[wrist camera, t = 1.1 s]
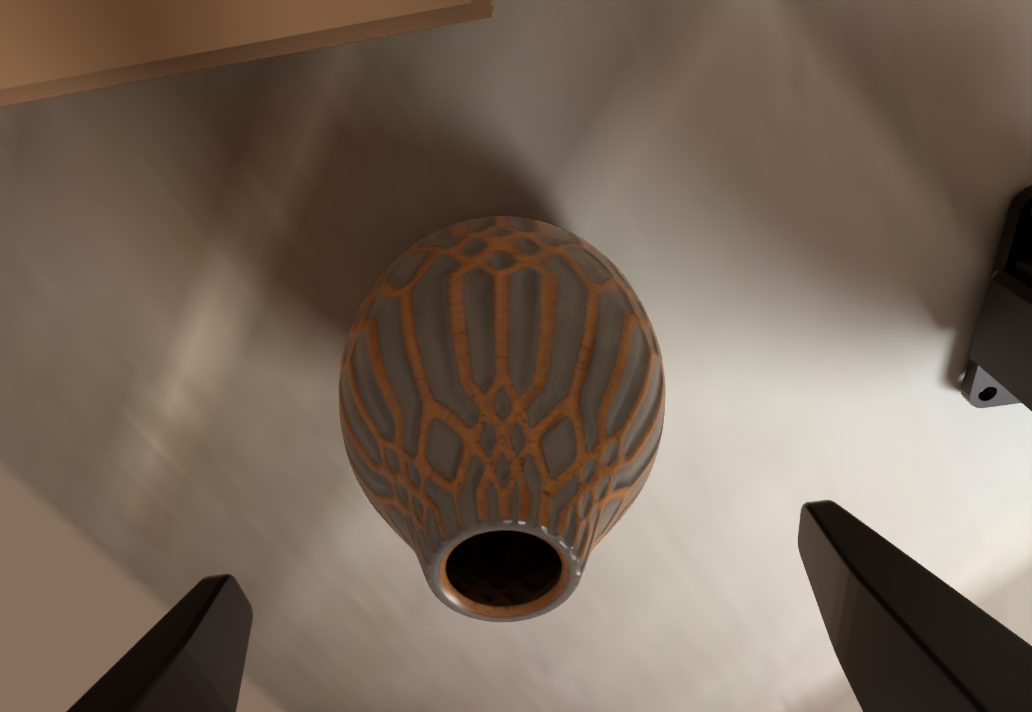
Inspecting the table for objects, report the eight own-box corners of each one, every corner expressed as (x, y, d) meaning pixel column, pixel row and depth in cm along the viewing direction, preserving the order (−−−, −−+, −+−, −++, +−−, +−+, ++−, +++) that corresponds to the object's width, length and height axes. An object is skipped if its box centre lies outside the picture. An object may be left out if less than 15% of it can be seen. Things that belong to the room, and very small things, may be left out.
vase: (683, 258, 16) (834, 507, 9) (548, 441, 20) (578, 737, 12) (440, 126, 15) (378, 302, 7) (334, 352, 18) (215, 637, 10)
